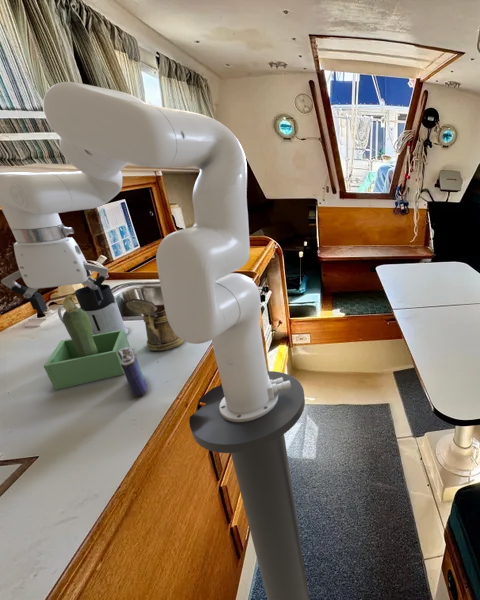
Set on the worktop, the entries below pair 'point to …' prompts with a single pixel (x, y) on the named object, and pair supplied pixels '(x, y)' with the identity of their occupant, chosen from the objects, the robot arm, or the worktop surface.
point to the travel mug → (100, 310)
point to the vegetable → (78, 328)
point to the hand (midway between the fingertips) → (71, 307)
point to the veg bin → (86, 361)
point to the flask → (133, 372)
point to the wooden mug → (155, 325)
